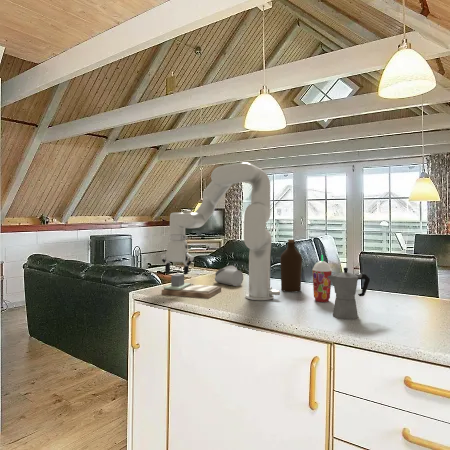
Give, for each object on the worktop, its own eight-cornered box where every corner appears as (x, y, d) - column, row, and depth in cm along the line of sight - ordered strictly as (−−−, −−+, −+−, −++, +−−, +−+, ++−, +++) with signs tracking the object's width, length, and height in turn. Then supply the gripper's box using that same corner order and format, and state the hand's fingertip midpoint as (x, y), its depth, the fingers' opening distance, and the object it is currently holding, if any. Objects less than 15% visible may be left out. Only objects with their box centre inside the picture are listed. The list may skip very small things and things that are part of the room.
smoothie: (331, 299, 165) (332, 254, 164) (331, 303, 157) (332, 256, 156) (312, 298, 167) (312, 253, 166) (311, 302, 159) (311, 255, 158)
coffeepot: (330, 319, 133) (331, 269, 132) (323, 312, 142) (324, 265, 142) (374, 319, 133) (374, 269, 132) (364, 312, 142) (365, 265, 142)
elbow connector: (204, 280, 206) (228, 285, 191) (207, 261, 207) (231, 264, 192) (227, 283, 217) (252, 288, 202) (230, 265, 218) (255, 269, 203)
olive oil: (286, 293, 178) (286, 240, 177) (276, 288, 188) (276, 239, 187) (305, 291, 181) (306, 240, 180) (295, 287, 191) (295, 238, 190)
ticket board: (221, 291, 182) (221, 285, 182) (209, 298, 167) (209, 291, 167) (176, 287, 190) (176, 282, 190) (161, 294, 175) (161, 288, 174)
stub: (191, 284, 185) (191, 273, 185) (179, 290, 173) (179, 277, 173) (175, 283, 188) (175, 272, 188) (163, 288, 176) (163, 276, 176)
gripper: (196, 238, 181) (196, 273, 181) (165, 236, 186) (164, 271, 187) (190, 239, 174) (189, 276, 174) (157, 237, 179) (157, 273, 180)
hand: (176, 273), depth 181 cm, fingers open, 9 cm apart
